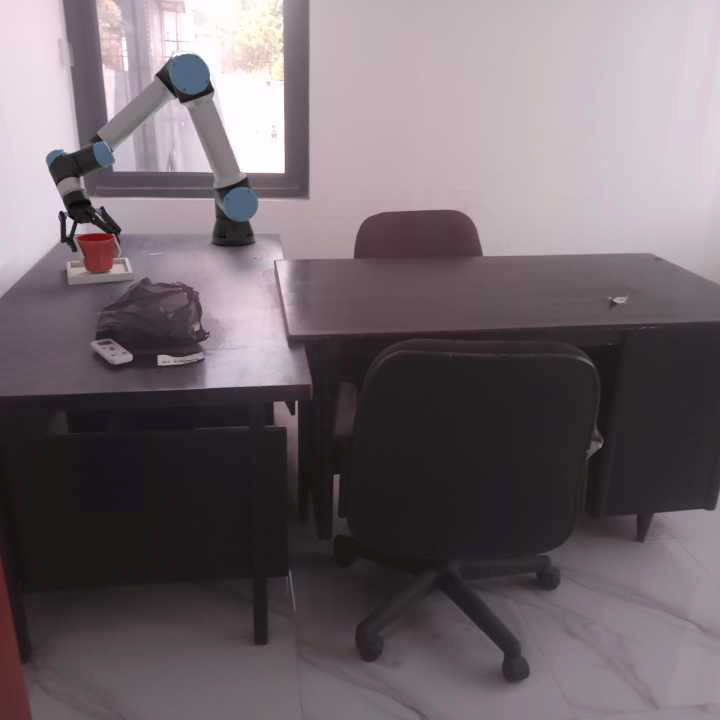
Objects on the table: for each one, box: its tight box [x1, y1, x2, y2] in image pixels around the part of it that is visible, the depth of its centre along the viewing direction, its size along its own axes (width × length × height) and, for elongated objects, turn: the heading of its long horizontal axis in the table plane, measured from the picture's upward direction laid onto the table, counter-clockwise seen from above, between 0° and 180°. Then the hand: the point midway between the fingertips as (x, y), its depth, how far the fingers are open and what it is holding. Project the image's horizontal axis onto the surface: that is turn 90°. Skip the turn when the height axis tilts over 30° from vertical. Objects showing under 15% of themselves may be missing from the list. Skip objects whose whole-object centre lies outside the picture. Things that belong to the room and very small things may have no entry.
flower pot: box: [75, 232, 115, 272], centre depth 223 cm, size 11×11×10 cm
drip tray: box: [66, 257, 134, 286], centre depth 225 cm, size 18×18×2 cm
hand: (101, 257), depth 221 cm, fingers closed on flower pot, 11 cm apart
